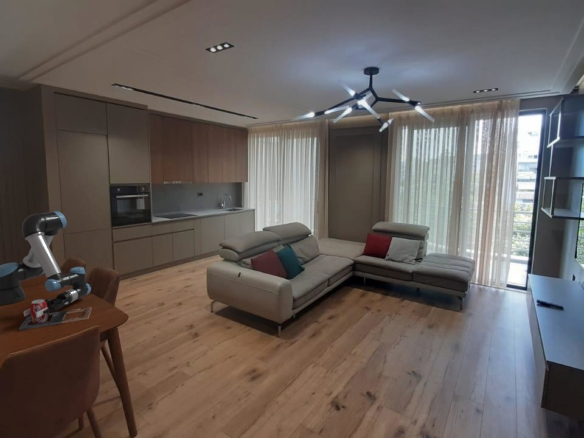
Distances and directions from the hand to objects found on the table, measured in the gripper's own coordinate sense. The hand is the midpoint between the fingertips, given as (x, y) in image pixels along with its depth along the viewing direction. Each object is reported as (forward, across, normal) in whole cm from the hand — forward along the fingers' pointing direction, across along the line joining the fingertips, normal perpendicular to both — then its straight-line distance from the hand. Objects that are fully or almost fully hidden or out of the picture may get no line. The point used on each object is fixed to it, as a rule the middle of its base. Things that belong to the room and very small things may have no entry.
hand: (30, 314), depth 171 cm
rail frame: (-10, -7, -7) cm, 13 cm away
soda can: (-5, 0, -7) cm, 8 cm away
